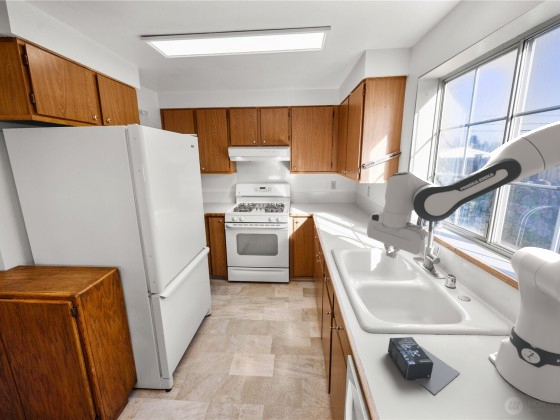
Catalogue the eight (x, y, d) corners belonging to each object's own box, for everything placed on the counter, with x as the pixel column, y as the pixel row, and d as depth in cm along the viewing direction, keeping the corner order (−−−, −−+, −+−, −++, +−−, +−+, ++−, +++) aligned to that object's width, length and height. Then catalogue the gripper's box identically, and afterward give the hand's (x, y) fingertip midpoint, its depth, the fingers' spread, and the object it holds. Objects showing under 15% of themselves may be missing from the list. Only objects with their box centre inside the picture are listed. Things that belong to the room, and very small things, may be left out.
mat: (420, 346, 84) (420, 346, 84) (459, 373, 74) (459, 372, 74) (395, 363, 77) (395, 362, 77) (434, 395, 67) (434, 394, 67)
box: (411, 336, 80) (434, 363, 70) (409, 350, 82) (430, 378, 71) (389, 337, 80) (408, 364, 69) (386, 351, 81) (405, 380, 71)
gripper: (432, 226, 76) (425, 266, 79) (377, 212, 93) (373, 246, 96) (420, 228, 73) (413, 270, 76) (366, 213, 90) (362, 248, 93)
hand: (390, 256), depth 86 cm, fingers closed
